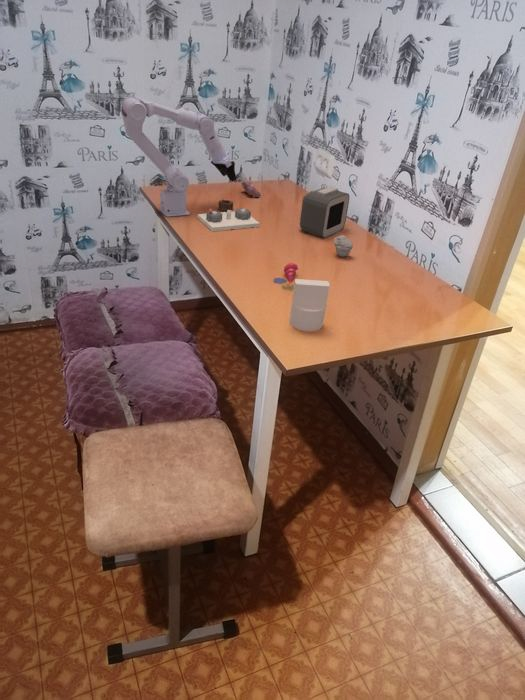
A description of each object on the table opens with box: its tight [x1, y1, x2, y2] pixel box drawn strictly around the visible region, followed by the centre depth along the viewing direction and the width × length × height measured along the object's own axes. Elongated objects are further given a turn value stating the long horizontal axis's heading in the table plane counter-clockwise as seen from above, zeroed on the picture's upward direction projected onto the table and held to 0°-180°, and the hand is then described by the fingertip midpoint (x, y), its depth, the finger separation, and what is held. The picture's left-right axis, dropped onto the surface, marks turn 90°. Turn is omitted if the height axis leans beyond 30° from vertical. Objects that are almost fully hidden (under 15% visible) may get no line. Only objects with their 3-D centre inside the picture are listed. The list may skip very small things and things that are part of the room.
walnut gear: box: [218, 199, 234, 212], centre depth 223 cm, size 6×6×3 cm
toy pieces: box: [273, 262, 299, 292], centre depth 172 cm, size 12×11×4 cm
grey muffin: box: [333, 234, 354, 258], centre depth 193 cm, size 6×7×7 cm
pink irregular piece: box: [240, 180, 262, 198], centre depth 241 cm, size 10×5×7 cm, turn 25°
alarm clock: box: [299, 186, 350, 239], centre depth 210 cm, size 16×11×16 cm
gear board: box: [197, 207, 261, 233], centre depth 210 cm, size 19×14×6 cm
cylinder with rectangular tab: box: [289, 278, 330, 332], centre depth 150 cm, size 9×9×12 cm
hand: (229, 177), depth 218 cm, fingers open, 7 cm apart
